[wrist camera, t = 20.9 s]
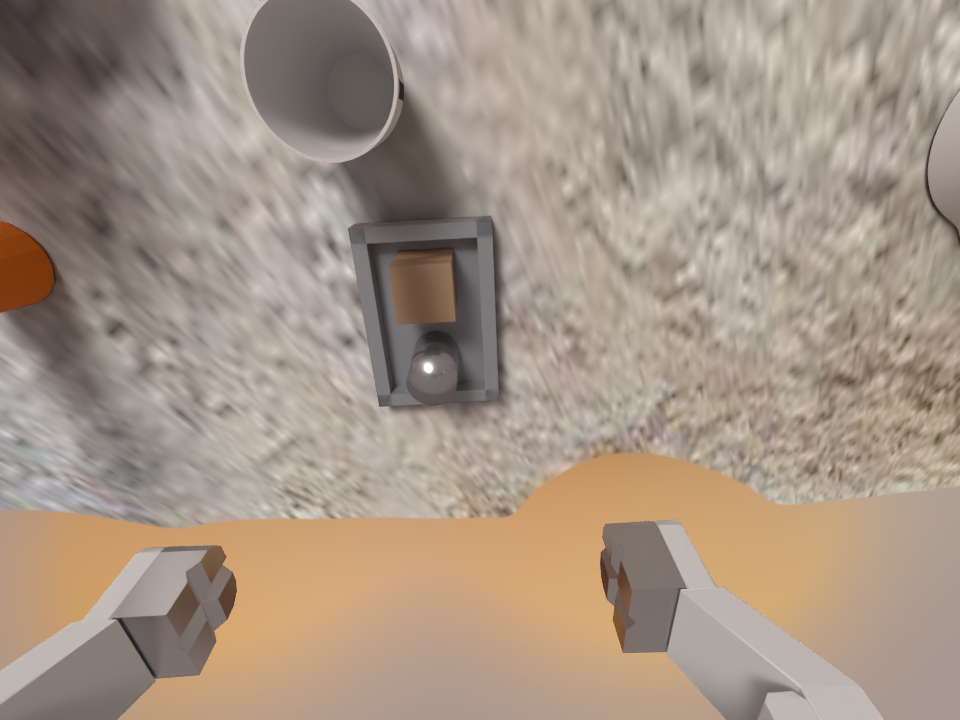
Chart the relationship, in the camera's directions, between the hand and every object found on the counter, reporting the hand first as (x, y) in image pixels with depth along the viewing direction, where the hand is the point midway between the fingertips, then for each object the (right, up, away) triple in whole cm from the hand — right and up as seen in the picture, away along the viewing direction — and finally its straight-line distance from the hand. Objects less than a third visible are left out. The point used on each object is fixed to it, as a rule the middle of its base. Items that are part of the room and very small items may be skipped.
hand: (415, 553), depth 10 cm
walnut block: (-3, +11, +28) cm, 31 cm away
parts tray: (-3, +8, +30) cm, 32 cm away
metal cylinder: (-3, +5, +32) cm, 32 cm away
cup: (-7, +23, +23) cm, 34 cm away
